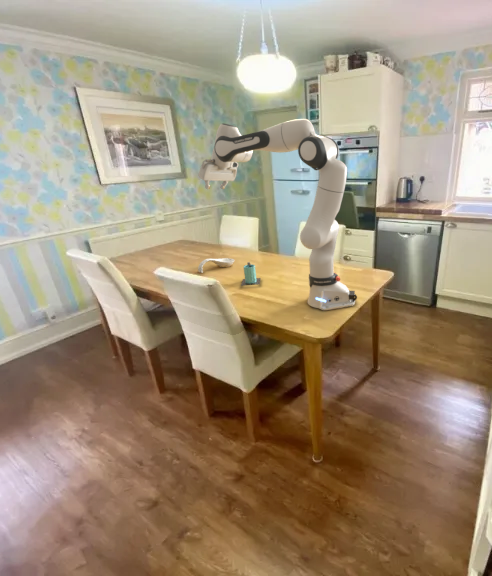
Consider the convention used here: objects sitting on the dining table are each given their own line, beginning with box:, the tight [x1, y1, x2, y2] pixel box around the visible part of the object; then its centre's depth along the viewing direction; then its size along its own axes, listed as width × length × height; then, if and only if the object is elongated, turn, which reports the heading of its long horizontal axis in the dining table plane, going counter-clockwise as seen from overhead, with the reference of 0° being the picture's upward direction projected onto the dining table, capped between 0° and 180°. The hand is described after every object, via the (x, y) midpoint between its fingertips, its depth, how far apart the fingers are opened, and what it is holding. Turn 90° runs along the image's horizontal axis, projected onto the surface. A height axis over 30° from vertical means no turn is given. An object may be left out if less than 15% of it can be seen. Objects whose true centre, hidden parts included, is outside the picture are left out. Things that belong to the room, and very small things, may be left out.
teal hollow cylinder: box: [243, 263, 257, 284], centre depth 174 cm, size 6×6×9 cm
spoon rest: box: [197, 257, 235, 274], centre depth 202 cm, size 24×12×7 cm, turn 136°
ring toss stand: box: [240, 261, 262, 286], centre depth 174 cm, size 10×10×12 cm
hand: (214, 188), depth 154 cm, fingers open, 8 cm apart
